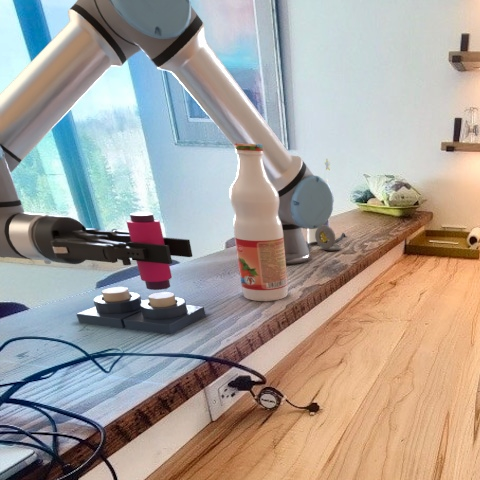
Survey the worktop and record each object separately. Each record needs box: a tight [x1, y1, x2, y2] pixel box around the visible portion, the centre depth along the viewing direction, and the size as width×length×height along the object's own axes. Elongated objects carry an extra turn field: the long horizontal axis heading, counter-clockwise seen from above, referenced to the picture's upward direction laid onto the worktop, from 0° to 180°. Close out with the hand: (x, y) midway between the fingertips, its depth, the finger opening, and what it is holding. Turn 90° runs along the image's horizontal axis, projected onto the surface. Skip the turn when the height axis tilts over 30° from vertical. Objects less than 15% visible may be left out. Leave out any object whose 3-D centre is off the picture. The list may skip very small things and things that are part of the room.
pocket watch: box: [315, 221, 343, 252], centre depth 132 cm, size 8×8×10 cm
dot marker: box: [126, 212, 172, 291], centre depth 69 cm, size 5×5×12 cm
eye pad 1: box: [101, 286, 130, 302], centre depth 75 cm, size 4×4×2 cm
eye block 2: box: [123, 296, 206, 335], centre depth 75 cm, size 10×8×4 cm
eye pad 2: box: [147, 291, 176, 307], centre depth 73 cm, size 4×4×2 cm
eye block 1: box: [76, 291, 147, 329], centre depth 76 cm, size 10×8×4 cm
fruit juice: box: [229, 143, 289, 302], centre depth 84 cm, size 9×9×28 cm
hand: (179, 251), depth 68 cm, fingers closed on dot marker, 5 cm apart
